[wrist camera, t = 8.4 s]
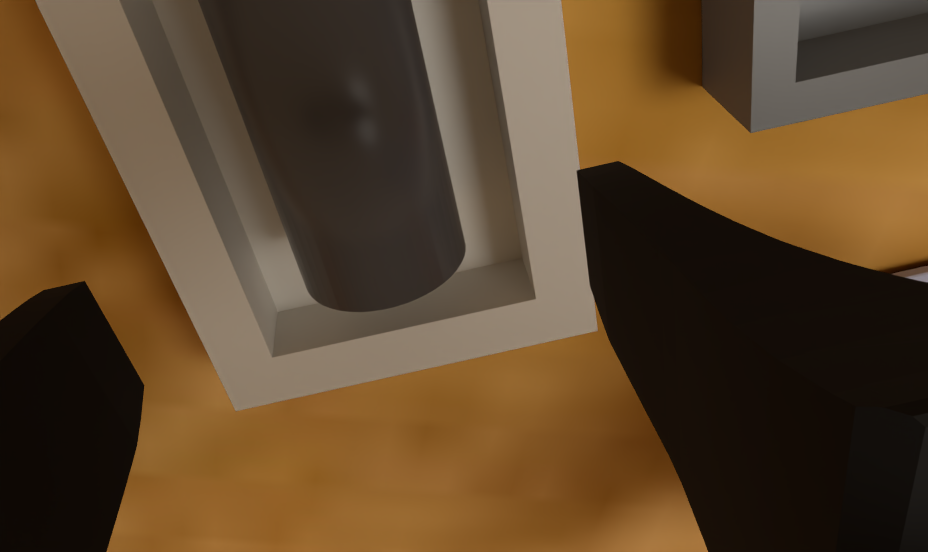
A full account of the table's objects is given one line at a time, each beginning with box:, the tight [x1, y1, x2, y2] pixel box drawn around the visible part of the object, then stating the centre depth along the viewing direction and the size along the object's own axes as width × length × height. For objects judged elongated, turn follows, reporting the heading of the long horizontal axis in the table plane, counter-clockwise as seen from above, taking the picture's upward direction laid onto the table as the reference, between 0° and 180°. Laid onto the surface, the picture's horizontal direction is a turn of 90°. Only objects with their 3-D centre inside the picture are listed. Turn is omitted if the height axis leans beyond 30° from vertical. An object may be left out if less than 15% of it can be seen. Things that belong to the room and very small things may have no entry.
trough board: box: [35, 0, 598, 411], centre depth 18 cm, size 16×10×3 cm, turn 11°
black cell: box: [198, 0, 466, 312], centre depth 17 cm, size 9×4×4 cm, turn 11°
